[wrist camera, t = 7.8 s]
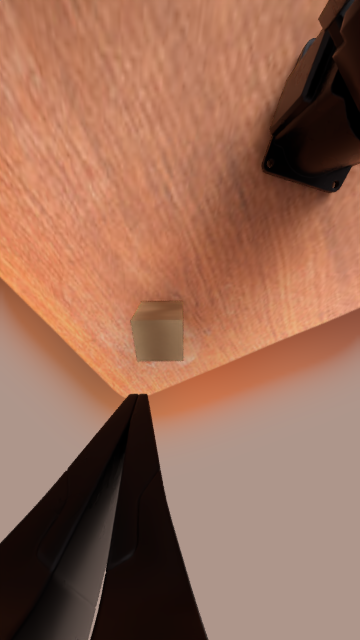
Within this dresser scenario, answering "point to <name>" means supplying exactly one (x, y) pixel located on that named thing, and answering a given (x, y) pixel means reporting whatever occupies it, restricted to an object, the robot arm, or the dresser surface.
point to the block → (158, 331)
